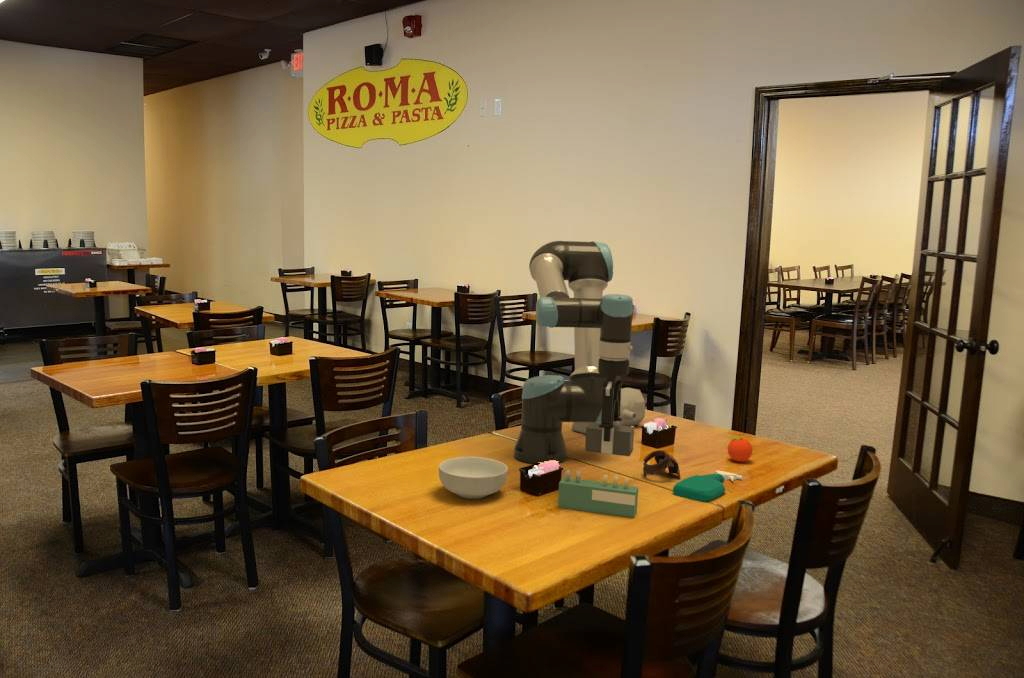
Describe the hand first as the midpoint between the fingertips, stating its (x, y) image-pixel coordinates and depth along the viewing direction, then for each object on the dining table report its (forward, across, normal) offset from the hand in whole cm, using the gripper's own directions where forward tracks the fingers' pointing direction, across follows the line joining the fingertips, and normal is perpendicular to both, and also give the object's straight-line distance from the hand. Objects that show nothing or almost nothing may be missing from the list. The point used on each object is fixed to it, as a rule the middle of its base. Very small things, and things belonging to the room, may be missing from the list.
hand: (609, 449), depth 199 cm
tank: (+12, +64, +10) cm, 66 cm away
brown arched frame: (+12, +20, -11) cm, 26 cm away
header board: (+11, -12, 0) cm, 17 cm away
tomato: (+12, +44, -30) cm, 54 cm away
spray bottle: (+12, +16, -24) cm, 31 cm away
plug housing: (0, 0, 0) cm, 0 cm away
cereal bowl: (+12, -13, +31) cm, 36 cm away
